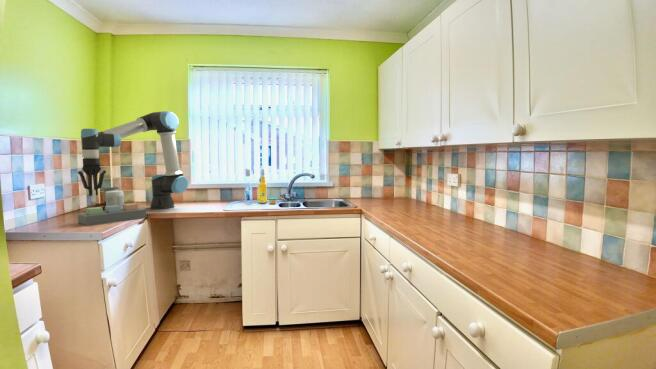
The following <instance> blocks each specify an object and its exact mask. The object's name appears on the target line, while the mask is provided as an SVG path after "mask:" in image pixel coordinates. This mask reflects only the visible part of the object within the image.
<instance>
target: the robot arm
mask: <svg viewBox="0 0 656 369" xmlns="http://www.w3.org/2000/svg"><path fill="white" fill-rule="evenodd" d="M179 124H180V121H179V118H178V116H177V115H176V114H175V113H174V112H173V111H167V110H163V111H155V112H154V111H153V112H149V113H147V114H145V115H142V116H140V117H137V118H136V119H135V120H133V121H130V122H126V123H123V124H120V125H118V126H115V127H112V128H111V127H110V128H109V129H105V130H102V131H99V130H98V129H97V128H82V129H80V139H81V156H82V168H81V169H80V170H79V171H77V174H78V175H79V177H80V179H81V180H80V181H81V183H82V186H83V188H84V189H85V190H87V191H88V196H89V197H90V198H91V199H90V200H91V201H90V202H92V203H96V202H97V196H99V191H98V190H99V189H101V188H102V186H103V181H104V177H105V174H106V173H107V171H106V170H104V169H102V167H101V162H100V148H119V147H120V146H121V145H122V139H124V138H127V137H130V136H132V135H135V134H138V133H141V132H142V133H146V132H151V131H156V134H157V135H158V136H160V137H159V138H160V144H161V148H162V155H163V160H164V161H163V162H164V167H165V173H160V174H154V175H152V176H151V193H152V197H151V201H150V205H149V208H150V209H152V210H163V209H164V210H165V209H171V208H175V202H174V199H173V197H172V194H177V195H178V194H183V193H184V192H186V190H187V188H188V187H189V181H188V178H186V177H185V175H184V173H183V171H182V170H181V169H180V162H179V161H180V160H179V157H178V156H179V154H178V149H177V143H176V136H175V134H177V129H178V127H179ZM99 173H100V174H99ZM84 174H86V177H87V181H86V177H85V175H84ZM98 174H99V178H98Z"/></svg>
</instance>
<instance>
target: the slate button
mask: <svg viewBox="0 0 656 369" xmlns="http://www.w3.org/2000/svg"><path fill="white" fill-rule="evenodd" d="M104 211H105V212H107V213H112V212H120V211H121V206H119V205H112V206H105V210H104Z"/></svg>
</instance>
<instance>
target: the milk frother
mask: <svg viewBox="0 0 656 369" xmlns="http://www.w3.org/2000/svg"><path fill="white" fill-rule="evenodd" d="M102 190H103V201H104V202H103V203H97V204H96V205H94V206H93V207H101V206H103V207H101V208H103V211H105V206H106V198H105V192H107V191H120V190H119V187H116V186H115V187H111V186H110V187H103V189H102Z"/></svg>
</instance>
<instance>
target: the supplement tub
mask: <svg viewBox="0 0 656 369" xmlns="http://www.w3.org/2000/svg"><path fill="white" fill-rule="evenodd" d="M124 195H125V194H124V191H123V190H119V191H107V192H105V198H106V206H112V205H119V206H121V209H123V206H122V204H125V196H124Z"/></svg>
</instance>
